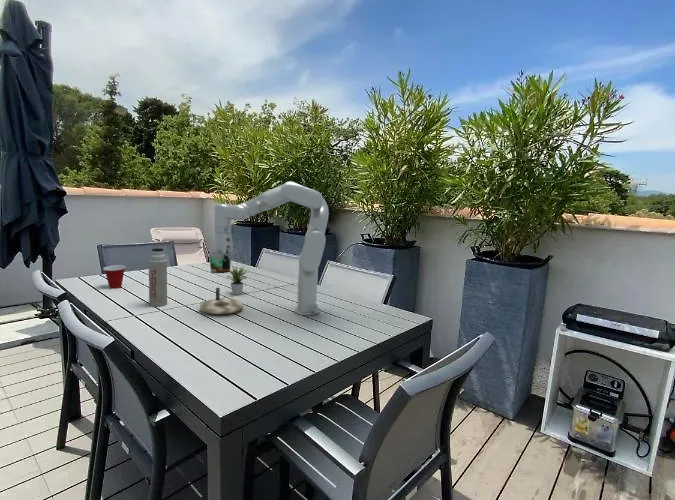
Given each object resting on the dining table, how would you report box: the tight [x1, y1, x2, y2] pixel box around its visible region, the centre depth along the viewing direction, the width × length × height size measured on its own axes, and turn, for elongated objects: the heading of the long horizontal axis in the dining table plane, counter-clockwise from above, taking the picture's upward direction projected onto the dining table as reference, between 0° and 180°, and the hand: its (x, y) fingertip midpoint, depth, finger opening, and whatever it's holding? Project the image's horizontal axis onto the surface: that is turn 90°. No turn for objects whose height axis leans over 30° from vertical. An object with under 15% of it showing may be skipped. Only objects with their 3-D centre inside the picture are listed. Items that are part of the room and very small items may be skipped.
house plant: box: [225, 266, 251, 296], centre depth 204 cm, size 14×14×16 cm
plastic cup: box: [102, 264, 126, 290], centre depth 204 cm, size 11×11×12 cm
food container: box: [207, 251, 234, 274], centre depth 173 cm, size 12×6×10 cm, turn 142°
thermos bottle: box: [148, 247, 168, 308], centre depth 178 cm, size 8×8×28 cm
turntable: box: [199, 287, 244, 315], centre depth 176 cm, size 20×20×9 cm
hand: (222, 267), depth 173 cm, fingers closed on food container, 5 cm apart
